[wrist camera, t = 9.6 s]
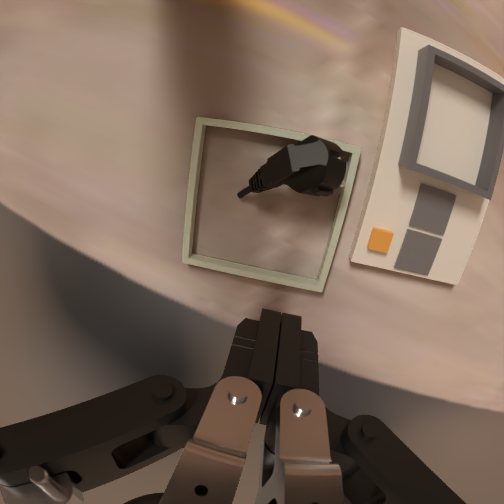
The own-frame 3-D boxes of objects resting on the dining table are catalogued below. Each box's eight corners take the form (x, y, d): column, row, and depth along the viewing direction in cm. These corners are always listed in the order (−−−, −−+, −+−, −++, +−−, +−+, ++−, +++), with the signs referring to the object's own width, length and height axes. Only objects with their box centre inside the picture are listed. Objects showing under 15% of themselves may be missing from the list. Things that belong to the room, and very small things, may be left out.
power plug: (231, 171, 33) (302, 118, 24) (281, 179, 38) (354, 139, 28) (236, 219, 33) (316, 176, 23) (288, 221, 37) (368, 189, 27)
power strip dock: (397, 30, 23) (410, 19, 19) (504, 83, 22) (524, 82, 18) (348, 256, 35) (354, 273, 31) (452, 279, 34) (466, 297, 30)
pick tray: (200, 117, 31) (196, 117, 29) (358, 146, 30) (361, 147, 28) (185, 257, 38) (181, 262, 37) (321, 286, 37) (321, 292, 36)
